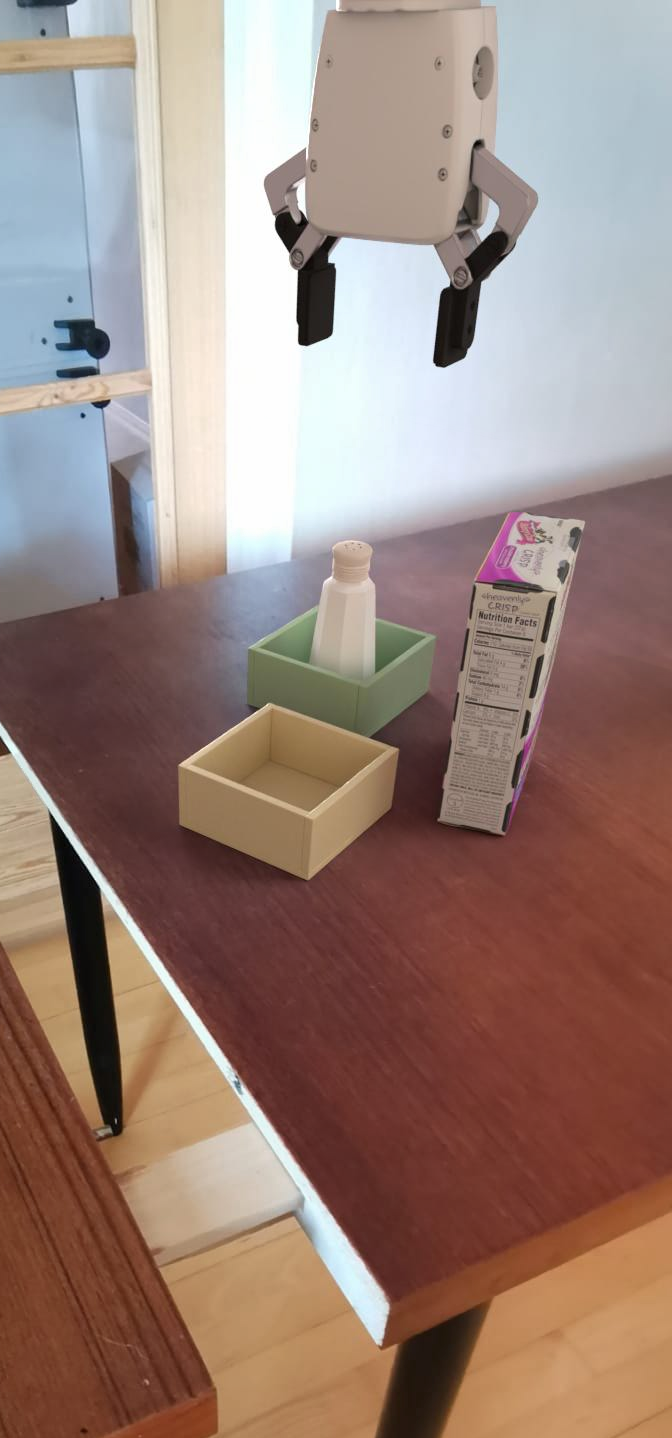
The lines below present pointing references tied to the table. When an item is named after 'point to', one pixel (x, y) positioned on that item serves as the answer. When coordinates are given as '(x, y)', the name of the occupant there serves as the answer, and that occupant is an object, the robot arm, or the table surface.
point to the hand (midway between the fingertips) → (380, 351)
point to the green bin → (340, 676)
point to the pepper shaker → (347, 615)
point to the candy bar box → (507, 668)
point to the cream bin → (287, 789)
